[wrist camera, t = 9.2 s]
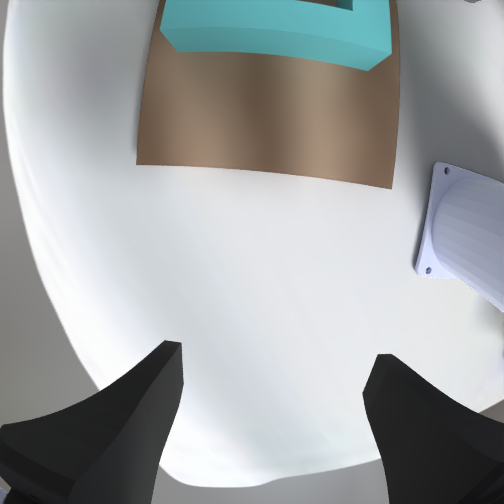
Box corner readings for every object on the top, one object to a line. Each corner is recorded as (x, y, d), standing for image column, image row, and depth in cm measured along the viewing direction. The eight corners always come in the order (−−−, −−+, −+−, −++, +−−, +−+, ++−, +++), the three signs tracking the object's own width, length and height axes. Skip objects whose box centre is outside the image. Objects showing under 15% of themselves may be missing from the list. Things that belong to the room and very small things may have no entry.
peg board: (383, -41, 11) (410, -78, 6) (383, 187, 17) (430, 200, 12) (185, -62, 11) (167, -105, 6) (143, 164, 17) (98, 168, 11)
